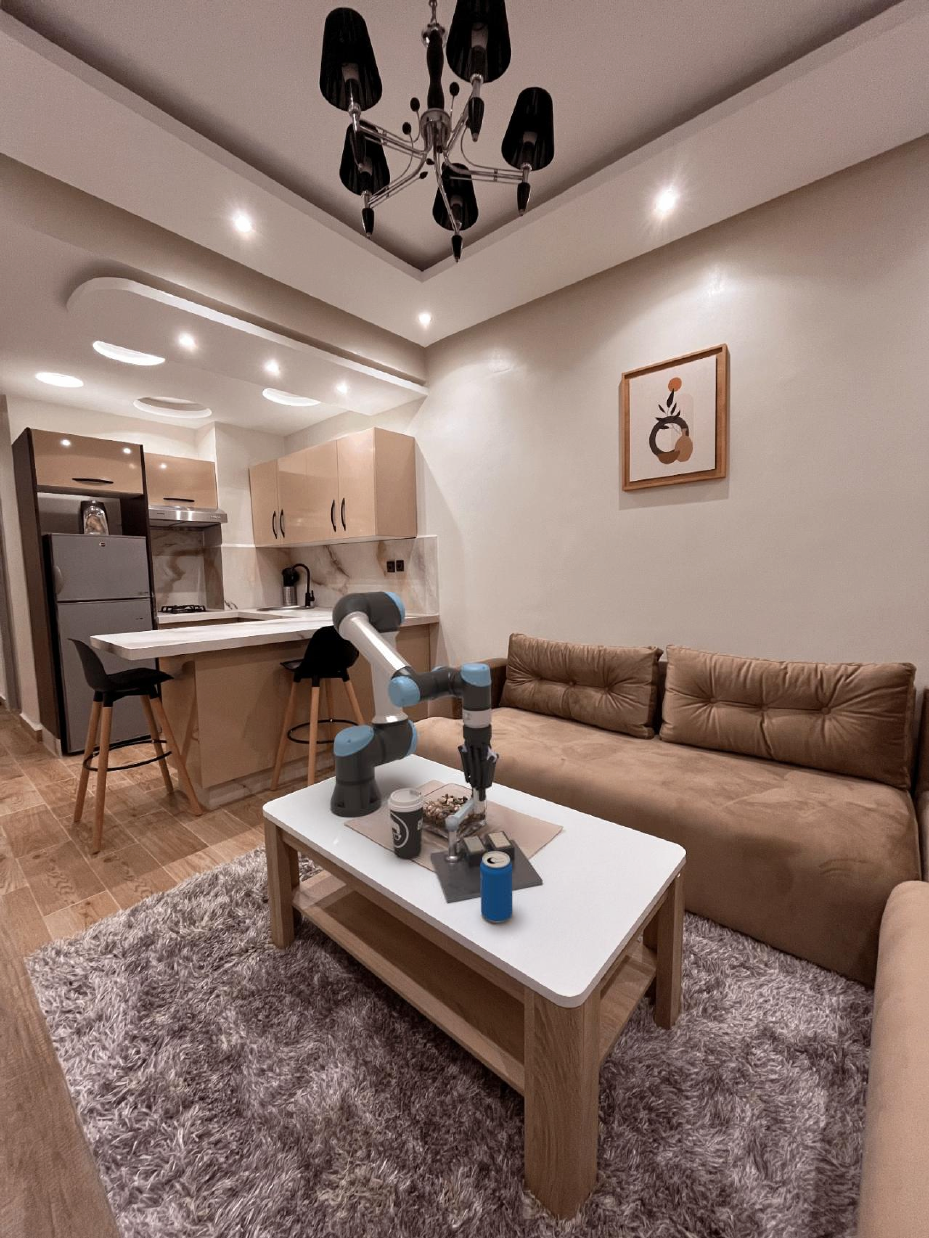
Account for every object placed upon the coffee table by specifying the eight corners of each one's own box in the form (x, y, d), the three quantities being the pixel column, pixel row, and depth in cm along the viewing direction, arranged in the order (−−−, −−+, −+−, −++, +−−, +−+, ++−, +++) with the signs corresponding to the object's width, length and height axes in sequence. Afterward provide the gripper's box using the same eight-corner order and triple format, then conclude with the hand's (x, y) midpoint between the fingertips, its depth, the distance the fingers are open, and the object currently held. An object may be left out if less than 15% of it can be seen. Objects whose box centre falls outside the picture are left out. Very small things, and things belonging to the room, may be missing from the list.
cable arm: (443, 830, 121) (443, 821, 120) (473, 799, 137) (472, 791, 136) (455, 833, 119) (455, 823, 119) (483, 801, 135) (483, 793, 135)
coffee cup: (420, 864, 121) (418, 805, 119) (383, 860, 122) (381, 802, 121) (431, 843, 130) (429, 788, 128) (396, 840, 132) (394, 785, 130)
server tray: (430, 857, 124) (429, 825, 123) (513, 843, 129) (513, 812, 129) (447, 903, 106) (446, 866, 106) (542, 884, 112) (542, 849, 111)
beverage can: (479, 905, 106) (478, 851, 105) (509, 902, 106) (509, 849, 105) (483, 926, 99) (482, 869, 98) (515, 924, 100) (514, 867, 99)
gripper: (449, 722, 131) (451, 808, 133) (485, 732, 122) (487, 824, 124) (469, 716, 136) (471, 799, 139) (505, 725, 127) (507, 814, 129)
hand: (479, 811), depth 131 cm, fingers closed
